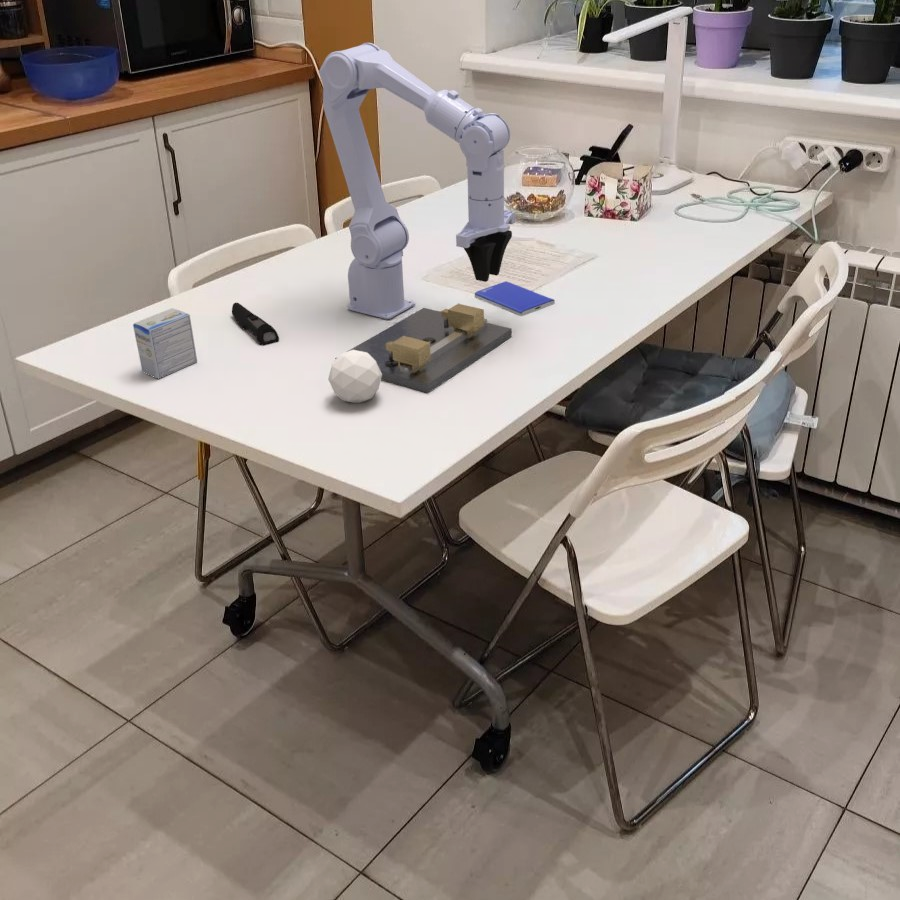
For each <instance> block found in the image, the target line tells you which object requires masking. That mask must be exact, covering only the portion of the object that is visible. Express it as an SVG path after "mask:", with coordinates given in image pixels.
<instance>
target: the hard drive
mask: <svg viewBox="0 0 900 900" xmlns="http://www.w3.org/2000/svg"><path fill="white" fill-rule="evenodd" d="M474 298H475V299H477V298H478V300H480V301H482V300H483V301H482V302H486V303H488V304H490V305H493V306H495V307H497V308H500V309H502V310H505V311H508V312H510V313H512V314H515V315H517V316H519V317H523V316H526V315H529V314H531V313H534V312H537V311H540V310H541V309H544V308H546V307H547V308H548V307H550V306H552V305H555V299H554V298H551V297H548V296H546V295H543V294H540V293H537V292H535V291H533V290H530V289H528V288H525V287H523V286H520V285H517V284H515V283H512V282H510V281H508V280H506V281H503V282H499V283H496V284H495V285H490V286H488V287H485V288H483V289H480V290H477V291H476V292H474Z"/></svg>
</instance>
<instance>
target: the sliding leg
mask: <svg viewBox="0 0 900 900" xmlns="http://www.w3.org/2000/svg"><path fill="white" fill-rule="evenodd" d="M440 312H441V317H444V328H449V326H450V327H454V332H456V331H457V330H459V329H462V330H466V331H467V338H470V337H471V336H473V335H474V334H476V333H478V332H479V329H480V328H482V327H483V326H484V318H485V310H484V309H482V308H479V307H475V306H471V305H467V304H462V303H456V304H455V305H453V306H451V307H450V308H448V309H447V308H444V309H443V310H441V311H440Z"/></svg>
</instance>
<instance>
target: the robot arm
mask: <svg viewBox="0 0 900 900" xmlns="http://www.w3.org/2000/svg"><path fill="white" fill-rule="evenodd" d="M318 75H319V76H320V80H321V83H322V84H321V85H322V87H323V89H322V91H323V92H322V106H323V110H324V114H325V118H326V120H327V121H326V122H327V123H328V128H329V131H330V134H331V137H332V140H333V144H334V147H335V151H336V153H337V157H338V160H339V163H340V165H341V170H342V172H343V176H344V179H345V182H346V186H347V190H348V192H349V195H350V199H351V202H352V205H353V206H352V207H353V210H354V213H353V215H352V218H351V220H350V222H349V226H348V229H349V232H350V249H351V253H352V256H353V257H354V259H352V261H351V262H350V264H349V267H348V270H347V271H348V272H347V280H348V293H349V304H350V305H348V306H347V310H349V311H352V312H357V313H361V314H364V315H369V316H373V317H377V318H381V319H385V320H390V319H392V318H394V317H397V315H399V314H401V313H403V312H405V311H406V310H409V309H411V308H412V307H414V306H415V305H416V304H415V302H414V301H409V300H406V299H405V290H404V289H405V287H404V274H403V273H404V272H403V257H404V249H406V247H407V245H408V243H409V242H410V241H409V240H410V236H409V230H408V228H407V226H406V224H405V223H404V221H403V220H402V218H400V215H399V212H398V209H397V208H396V207H395V206H393V205H392V204H390V203H388V202H387V200H386V197H385V195H384V191H383V187H382V183H381V181H380V178H379V173H378V171H377V167H376V164H375V160H374V157H373V154H372V149H371V148H370V144H369V140H368V137H367V133H366V130H365V126H364V123H363V119H362V117H361V113H360V107H361V105H362V103H363V101H364V100H365V98H366V96H367V94H368V93H369V92H370V91H371V90H372V89H385V90H387V91H388V92H390V93H392V94H393V95H395V96H397V97H399V98H400V99H402V100H404V101H406V102H408V103H409V104H411V105H413V106H414V107H415V108H416V107H417V108H418V109H419V110H422V111H423V112H424V116H425V120H426V122H427V124H429V125H431V126H432V127H434V128H435V129H437V130H438V131H440V132H441V133H442V134H444V135H446V136H447V137H449V138H450V139H451V140H454V141H455V142H456V143H458V145H459V147H460V150H461V152H462V153H463V155H464V157H465V160H466V161H465V162H466V163H465V164H466V167H467V169H466V170H467V171H466V172H467V173H466V175H467V207H468V208H467V209H468V213H467V214H468V215H467V216H468V222H467V223H466V224H465V225H464V227H463V228H462V229H461V231H460V232H458V233H457V234H456V235H455V239H456V240H455V241H456V242H455V243H456V244H455V245H456V247H458V248H461V249H462V248H463V250H464V251H465V253H466V254H467V257H468V258H469V259H468V260H469V261H470V264H471V268H472V272H473V274H474V278H475V280H476V281H480V282H485V283H487V282H488V281H489V279H490V275H492V276H498V275H499V274H500V271H501V267H502V263H503V258H504V256H505V255H504V254H505V252H506V249H507V246H508V244H509V242H510V241H511V239H512V237H513V232H512V230H510V229H511V225H514V224H515V223H516V211H513V210H507V209H505V165H504V164H505V162H504V159H505V158H504V157H505V156H504V155H505V154H504V151H505V150H504V149H506V148H507V146H508V144H509V142H510V140H511V131H510V128H509V124H508V122H507V121H506V120H505V119H503V117H501V116H500V114H498V113H494V112H493V113H492V112H491V113H484V111H483V109H481V108H479V107H477V108H476V107H474V106H472V105H471V104H470V103H468V102H466V101H465V100H463V99H462V98H460V97H459V96H460V93H459V92H458V91H456V90H454V89H451V90H447V89H441V90H439V91H435V90H434V89H433V88H431V87H430V86H429V85H427V84H426V83H425V82H423V81H422V80H421V79H419V78H418V77H417V76H415V75H414V74H413V73H411V72H410V71H409V70H407V69H406V68H404V66H402V65H401V64H400V63H398V62H396V61H395V60H394V59H393V58H392V56H391V53H389V52H388V51H386V50H384V49H381V48H380V47H379V46H378V45H377V44H374V43H372V42H364V43H362V44H360V45H357V46H353V47H350V48H347V49H343V50H337V51H333V52H330V53H329V54H327V56H326V57H325V59H324V61H323V63H322V64H321V66H320V69H319V70H318Z"/></svg>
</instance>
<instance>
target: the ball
mask: <svg viewBox="0 0 900 900" xmlns="http://www.w3.org/2000/svg"><path fill="white" fill-rule="evenodd" d="M347 351H348V352H347ZM347 351H345V352H342V353H340V354H338V356H337V358H336V357H335V358H336V360H334V361H333V362H332V364H331V367H330V370H329V375H328V378H327V380H328V382H329V384H330V386H331V389H332V390H333V393H334V394H335V395H336V396H337V397H338V398H340V400H342V401H343V402H348V403H353V404H360V403H363V402H365V401H368V400H371V399H372V398H373V397H374V395H376V393H377V392H378V390H379V388H380V385H381V381H382V380H381V377H382V373H381V371H380V369H379V367H378V365H377V363H376V361H375V360H374V359H373V358H372V357H371V356H370V355H369V354H368V353H367V352H362V351H357V350H351V351H349V350H347Z"/></svg>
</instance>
